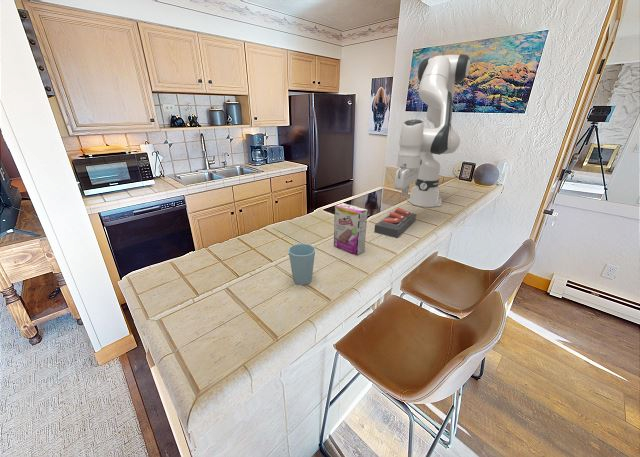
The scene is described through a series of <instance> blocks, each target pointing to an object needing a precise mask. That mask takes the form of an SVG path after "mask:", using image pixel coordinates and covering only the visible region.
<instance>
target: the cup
mask: <svg viewBox="0 0 640 457" xmlns="http://www.w3.org/2000/svg"><path fill="white" fill-rule="evenodd" d="M287 252H288V256H289V257H288V258H289V262H290V268H291V273H292V279H293V283H294V284H295V285H298V286H306V285H309V284H310V283H311V282H312V280H313V273H314V272H313V271H314V263H315V256H316V248H315V246H314V245H311V244H309V243H296V244H293V245H291V246H290V247H289V248H288V251H287Z"/></svg>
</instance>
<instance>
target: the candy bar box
mask: <svg viewBox="0 0 640 457" xmlns="http://www.w3.org/2000/svg"><path fill="white" fill-rule="evenodd" d="M368 211H369V210H368V209H366V208H362V207H359V206H355V205H351V204H348V203H344V202H342V203H339V204H336V205H334V222H333V223H334V227H333V228H334V229H333V231H334V232H333V247H334V248H337V249H339V250H342V251H344V252H346V253H347V252H348V253H350V254H352V255H355V256H359V255H361V254H362V253H364V252H365V251H366V250H365V248H366V232H367V220H368Z"/></svg>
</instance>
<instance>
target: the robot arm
mask: <svg viewBox="0 0 640 457" xmlns="http://www.w3.org/2000/svg"><path fill="white" fill-rule="evenodd" d="M417 68H418V69H417V79H418V82H420V83H419V88H418V97H419V99H420V100H421V101H422V103H424V104H425V105H427V112H426V119H427V120H428V122H430V124H432V125H433V127H434V128H428V127H427V128H426V127H424V125H425V124H424V121H423V120H421V119H409V120H406V121H404V122H403V123H402V126H401V131H400V135H399V144H398V145H399V151H398V154H397V162H396V163H397V165H396V167H398V168H399V169H397V170H396V172H395V174H394V175H395V176H394V181H393V188H394V190H398V191H399V190H400V191H401V196H402V197H406V196H407V195H409V190H410V187H411V185H412V184H413V183H415V185H414V186H412V188H411V192H410V196H409V197H408V198H407V199H406V201H407V202H408V203H410V204H412V205H414V206H417V207H424V208H431V207H433V208H434V207H442V202H443V198H441V196H439V194H440V189H439V183H440V171H441V165H440V163H439V162H438V161H437V160H436V159H435V158H434V156H433V155H439V156H440V155H446V154H453V153H455V152H456V151H457V150H458V149H459V147H460V143H461V138H460V135H459V134H458V133H457V132H456V131H455V130H454V128H453V126H452V118H453V117H452V116H453V102H454V97H455V86H458V85H459V84H460V83H462V82H463V81H464V80H465V79H466V78H467V76H468V74H469V72H470V69H471V59H470V56H469V54H464V53H463V54H462V53H460V54H444V55H442V54H441V55H435V56H433V57H426V58H424V59H422V60H421V61H420V63H419V65H418V67H417Z"/></svg>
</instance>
